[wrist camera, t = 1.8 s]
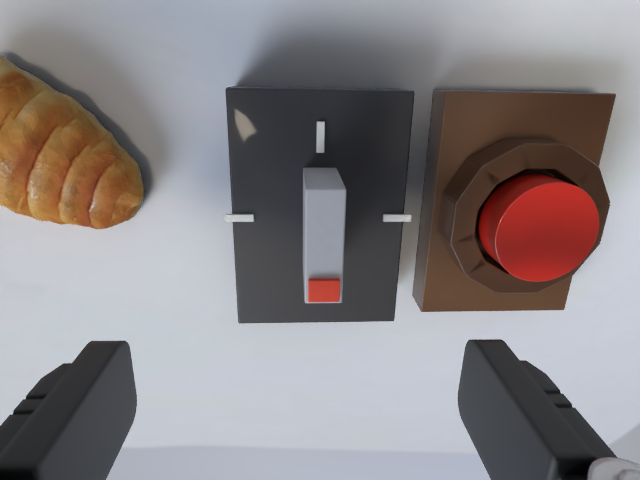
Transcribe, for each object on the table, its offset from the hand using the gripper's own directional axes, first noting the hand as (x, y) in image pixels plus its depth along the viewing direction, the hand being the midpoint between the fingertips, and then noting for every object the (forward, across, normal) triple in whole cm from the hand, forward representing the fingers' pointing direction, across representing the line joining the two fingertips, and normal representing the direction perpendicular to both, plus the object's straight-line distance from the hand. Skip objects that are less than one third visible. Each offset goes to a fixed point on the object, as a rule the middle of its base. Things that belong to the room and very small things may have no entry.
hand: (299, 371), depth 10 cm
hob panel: (+15, -1, 0) cm, 15 cm away
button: (+11, -11, 0) cm, 16 cm away
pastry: (+15, +13, -3) cm, 20 cm away
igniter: (+15, -11, 0) cm, 19 cm away
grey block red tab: (+12, -1, 0) cm, 12 cm away
